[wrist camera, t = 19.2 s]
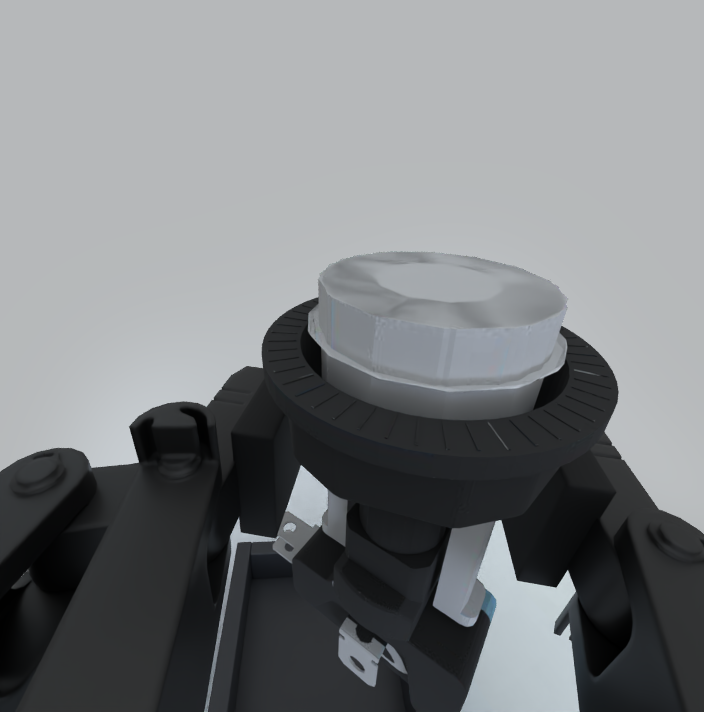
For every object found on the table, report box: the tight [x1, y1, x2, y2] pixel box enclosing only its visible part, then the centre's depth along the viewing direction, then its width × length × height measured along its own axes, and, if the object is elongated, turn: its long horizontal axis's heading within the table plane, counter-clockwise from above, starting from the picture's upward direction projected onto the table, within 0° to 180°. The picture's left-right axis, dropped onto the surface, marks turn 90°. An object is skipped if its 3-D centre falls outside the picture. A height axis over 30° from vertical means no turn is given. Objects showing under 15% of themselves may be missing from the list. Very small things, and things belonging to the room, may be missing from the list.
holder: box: [208, 541, 417, 712], centre depth 18 cm, size 10×12×3 cm
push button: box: [262, 252, 618, 712], centre depth 8 cm, size 7×5×10 cm
